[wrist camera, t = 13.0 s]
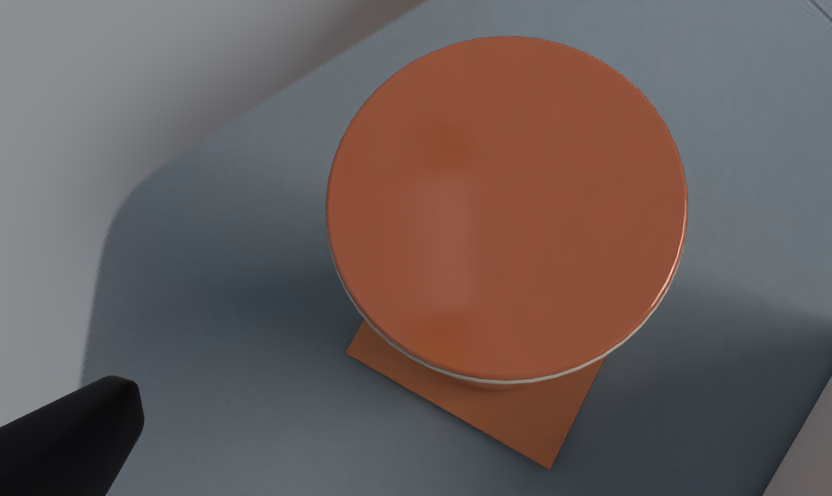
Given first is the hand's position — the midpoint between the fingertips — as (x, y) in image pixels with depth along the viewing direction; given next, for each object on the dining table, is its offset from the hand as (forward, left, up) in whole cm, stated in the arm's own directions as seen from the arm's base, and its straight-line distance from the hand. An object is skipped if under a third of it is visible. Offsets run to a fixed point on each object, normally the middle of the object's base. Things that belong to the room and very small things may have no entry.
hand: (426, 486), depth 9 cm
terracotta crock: (+4, +1, -13) cm, 14 cm away
